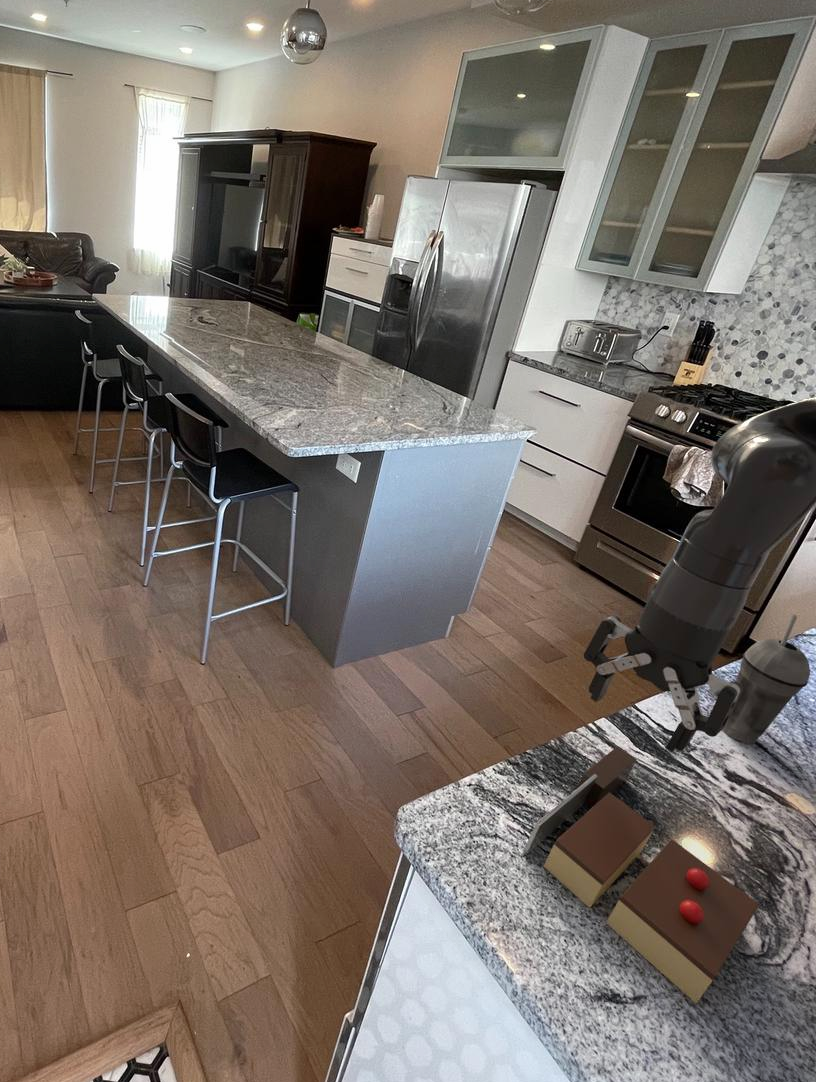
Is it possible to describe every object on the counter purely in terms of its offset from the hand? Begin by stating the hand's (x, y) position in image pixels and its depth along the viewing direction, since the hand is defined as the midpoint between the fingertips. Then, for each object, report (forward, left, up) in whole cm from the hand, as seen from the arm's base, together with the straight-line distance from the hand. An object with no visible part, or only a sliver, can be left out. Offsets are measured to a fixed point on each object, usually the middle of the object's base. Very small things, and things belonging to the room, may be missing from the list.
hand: (632, 721), depth 73 cm
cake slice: (+11, +4, -11) cm, 16 cm away
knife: (+6, 0, -11) cm, 12 cm away
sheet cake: (+11, +13, -11) cm, 20 cm away
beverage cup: (-30, +6, -11) cm, 33 cm away
